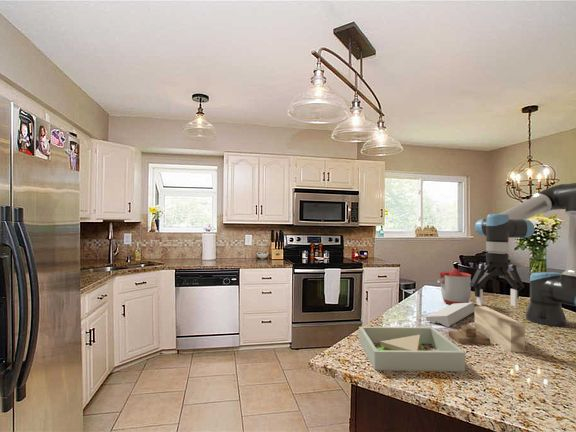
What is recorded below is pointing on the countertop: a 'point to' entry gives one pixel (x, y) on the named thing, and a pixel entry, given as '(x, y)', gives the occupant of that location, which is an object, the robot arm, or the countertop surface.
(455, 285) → the citrus juicer
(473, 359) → the countertop surface
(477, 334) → the fulcrum
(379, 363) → the sandwich crate
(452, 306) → the decorative molding
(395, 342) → the sandwich
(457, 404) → the countertop surface
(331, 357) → the countertop surface
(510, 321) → the beam
